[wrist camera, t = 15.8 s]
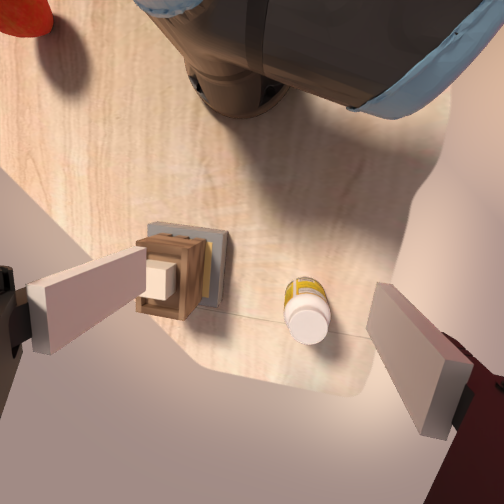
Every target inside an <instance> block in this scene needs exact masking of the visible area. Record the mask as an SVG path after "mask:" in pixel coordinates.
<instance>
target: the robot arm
mask: <svg viewBox="0 0 504 504" xmlns="http://www.w3.org/2000/svg"><path fill="white" fill-rule="evenodd" d="M133 1H134V2H135V4H136V5H137V6H139V7H140V9H141V10H143V11H145V13H146V14H147V15H148V16H149V17H150V18H151V19H152V21H153V22H154V23H155V24H156V25H157V26H158V28H159V29H160V30H161V31H162V32H163V33H164V35H165V36H166V37H167V38H168V39H169V40H170V42H171V43H172V44H173V45H174V46H175V47H176V49H177V50H178V51H179V52H180V53H181V54H182V56H183V57H184V62H185V67H186V71H187V74H188V77H189V79H190V82H191V84H192V86H193V87H194V89H195V91H196V92H197V94H198V95H199V96H200V97H201V98H202V100H203V101H204V102H206V103H207V104H208V105H209V106H210V107H211V108H212V109H213V110H215V111H216V112H218V113H220V114H222V115H224V116H227V117H231V118H239V119H243V118H251V117H255V116H258V115H260V114H262V113H264V112H266V111H268V110H269V109H271V108H272V107H273V106H275V105H276V104H277V103H278V102H279V101H280V100H281V99H282V97H283V96H284V95H285V93H286V92H287V90H288V89H289V87H290V86H292V87H294V88H297V89H300V90H302V91H305V92H308V93H311V94H313V95H316V96H319V97H321V98H324V99H327V100H329V101H332V102H335V103H338V104H340V105H343V106H346V109H347V110H349V111H351V112H360V111H361V112H364V113H367V114H370V115H373V116H377V117H380V118H383V119H389V120H395V119H399V118H402V117H405V116H409V115H411V114H413V113H415V112H417V111H419V110H420V109H422V108H423V107H425V106H426V105H427V104H429V103H430V102H431V101H433V100H434V99H435V98H436V97H437V96H438V95H440V94H441V93H442V92H443V91H444V90H445V89H446V88H447V87H448V86H449V85H451V84H452V83H453V82H454V80H456V78H458V77H459V75H460V74H461V73H462V72H463V71H464V70H465V69H466V68H467V67H468V66H469V65H470V64H471V63H472V62H473V61H474V59H475V58H476V57H477V56H478V55H479V54H480V53H481V51H482V50H483V49H484V48H485V47H486V46H487V44H488V43H489V42H490V41H491V39H492V38H493V37H494V36H495V35H496V33H497V32H498V30H499V29H500V28H501V27H502V26H503V24H504V0H133ZM146 249H147V248H146V247H139V246H133V247H130V248H127V249H124V250H121V251H118V252H116V253H113V254H110V255H107V256H104V257H101V258H98V259H96V260H93V261H90V262H87V263H84V264H81V265H79V266H76V267H73V268H70V269H67V270H65V271H62V272H59V273H56V274H53V275H50V276H47V277H45V278H42V279H39V280H36V281H33V282H30V283H28V284H26V287H24V288H21V289H19V290H16V291H15V285H14V277H13V269H12V268H11V267H9V266H0V418H1V415H2V412H3V409H4V406H5V403H6V401H7V398H8V394H9V392H10V388H11V386H12V383H13V379H14V377H15V374H16V371H17V368H18V365H19V362H20V359H21V356H22V353H23V350H22V342H24V341H26V340H28V339H30V338H32V347H33V352H37V353H42V354H47V355H52V354H54V353H55V352H57V351H58V350H60V349H61V348H63V347H64V346H65V345H67V344H68V343H70V342H71V341H73V340H74V339H76V338H77V337H79V336H80V335H82V334H83V333H85V332H86V331H88V330H89V329H90V328H92V327H93V326H95V325H96V324H98V323H99V322H101V321H102V320H104V319H105V318H107V317H108V316H110V315H111V314H113V313H114V312H115V311H117V310H118V309H120V308H121V307H123V306H124V305H126V304H127V303H129V302H130V301H132V300H133V299H135V298H136V297H138V296H139V295H141V294H142V293H143V292H145V291H146ZM366 330H367V332H368V334H369V336H370V338H371V340H372V341H373V343H374V345H375V347H376V349H377V351H378V353H379V355H380V357H381V359H382V361H383V363H384V365H385V367H386V369H387V371H388V373H389V375H390V377H391V379H392V381H393V383H394V385H395V387H396V389H397V391H398V392H399V394H400V396H401V398H402V400H403V402H404V404H405V406H406V408H407V410H408V412H409V414H410V416H411V418H412V420H413V422H414V424H415V426H416V428H417V430H418V432H419V434H420V435H422V436H427V437H431V438H436V439H441V440H445V441H446V440H447V437H448V434H449V432H450V429H451V426H452V425H453V426H454V427H455V429H456V431H457V434H456V436H455V438H454V440H453V442H452V444H451V446H450V448H449V450H448V453H447V455H446V457H445V459H444V461H443V463H442V465H441V467H440V470H439V472H438V474H437V476H436V478H435V480H434V482H433V484H432V487H431V489H430V491H429V493H428V495H427V497H426V499H425V501H424V503H423V504H504V377H503V376H499V375H494V374H492V373H491V372H490V371H489V370H488V369H487V368H486V367H485V366H484V365H483V364H481V363H480V362H479V361H478V360H477V359H476V358H475V357H473V355H472V354H471V353H470V352H469V351H467V350H466V349H465V348H464V347H463V346H462V345H461V344H460V343H459V342H458V341H457V340H455V339H454V338H452V337H450V336H448V335H447V334H445V333H444V332H440V331H439V330H438V329H437V328H436V327H435V326H434V325H433V324H432V323H431V322H430V321H429V320H428V319H427V318H426V317H425V316H424V315H423V314H422V313H421V312H420V311H419V310H418V309H417V308H416V307H415V306H414V305H413V304H412V303H411V302H410V301H409V300H408V299H406V297H404V295H402V294H401V293H400V292H399V291H398V290H397V289H396V288H395V287H394V286H393V285H392V284H387V283H380V282H377V284H376V288H375V292H374V296H373V300H372V305H371V309H370V313H369V317H368V321H367V326H366Z"/></svg>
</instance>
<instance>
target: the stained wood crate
mask: <svg viewBox="0 0 504 504" xmlns="http://www.w3.org/2000/svg"><path fill="white" fill-rule="evenodd" d="M136 246H139V247H146V248H147V249H146V260H148V259H149V260H156V261H164V262H171V263H176V292H175V293H173V294H172V295H171V296H170V297H169V298H168V299H166V300H159V299H153V298H147V297H140V296H138V297H136V312H139V313H144V314H150V315H155V316H160V317H166V318H171V319H176V320H182V321H184V320H185V319H186V318H187V317H188V316H189V315H190V313H191V312H192V311H193V310H194V309H195V307H196V306H197V305H198V304H199V303H200V302H201V300H202V290H203V276H204V261H205V247H206V239H203V238H197V237H196V238H194V239H192V240H189V236H183V235H178V236H175V237H172V234H169V233H159V234H156V235H153V236H150V237H147V238H144V239H141V240H138V241H136Z"/></svg>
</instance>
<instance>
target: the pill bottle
mask: <svg viewBox="0 0 504 504" xmlns="http://www.w3.org/2000/svg"><path fill="white" fill-rule="evenodd" d="M284 320H285V323H286V325H287V327H288V328H289V331H290V334H291V335H292V337H293V338H294V339H295V340H296V341H297V342H299V343H302V344H305V345H312V344H316V343H319V342H320V341H322V340H323V339H324V338H325V336H326V334H327V332H328V326H329V324H330V321H331V312H330V308H329V305H328V302H327V299H326V295H325V292H324V289H323V287H322V285H321V284H320V283H319V282H318V281H317V280H315V279H314V278H311V277H306V276H303V277H298V278H295V279H294V280H292V281H291V282H290V283H289V284H288V286H287V288H286V292H285V303H284Z"/></svg>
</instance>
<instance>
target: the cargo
mask: <svg viewBox="0 0 504 504" xmlns="http://www.w3.org/2000/svg"><path fill="white" fill-rule="evenodd" d="M175 292H176V263H171V262H164V261H156V260H149V259H148V260H146V291H145V292H143V293H142V294H141V295H139V296H140V297H147V298H153V299H159V300H166V299H168V298H169V297H170V296H171V295H172V294H173V293H175Z"/></svg>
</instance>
